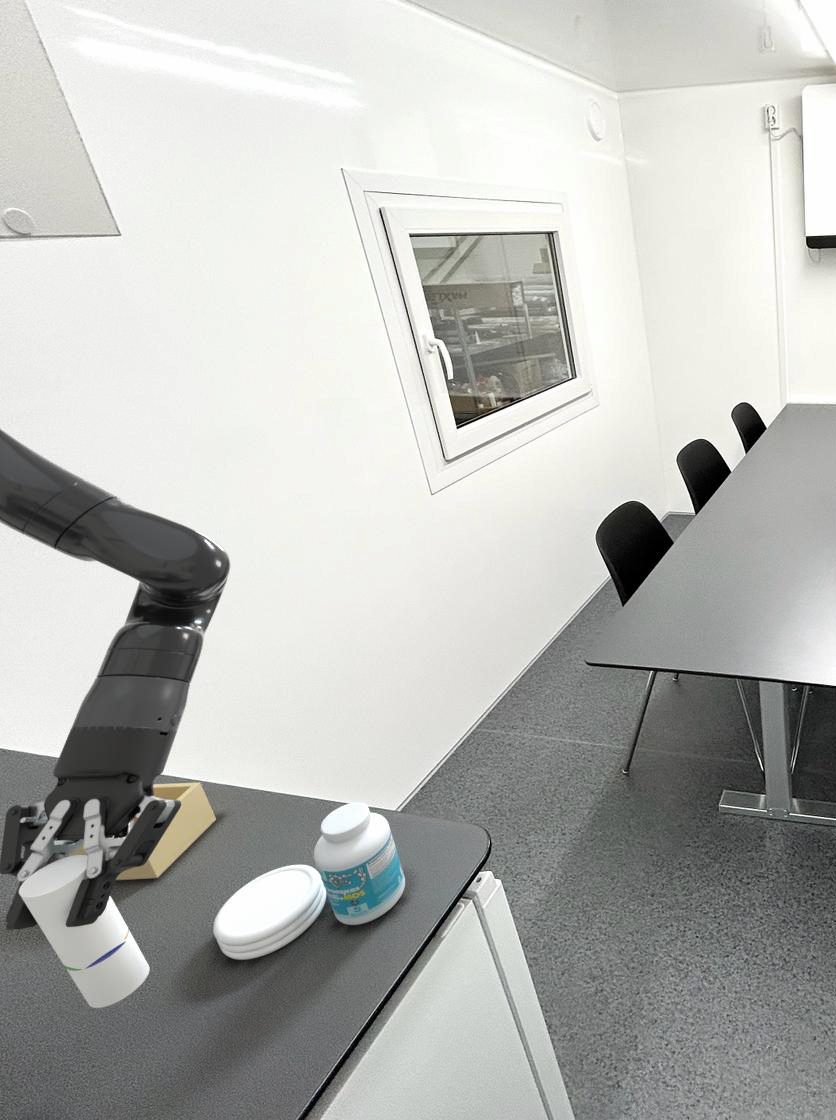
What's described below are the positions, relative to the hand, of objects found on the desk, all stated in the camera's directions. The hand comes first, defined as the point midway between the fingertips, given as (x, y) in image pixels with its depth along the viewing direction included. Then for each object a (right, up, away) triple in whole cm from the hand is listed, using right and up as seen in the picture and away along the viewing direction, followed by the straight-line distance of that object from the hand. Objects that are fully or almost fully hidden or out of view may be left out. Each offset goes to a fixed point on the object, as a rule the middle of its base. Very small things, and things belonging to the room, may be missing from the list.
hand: (51, 925), depth 56 cm
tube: (0, -10, +6) cm, 11 cm away
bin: (-21, -8, +28) cm, 36 cm away
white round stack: (+4, -12, +19) cm, 23 cm away
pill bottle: (+14, -11, +22) cm, 28 cm away
